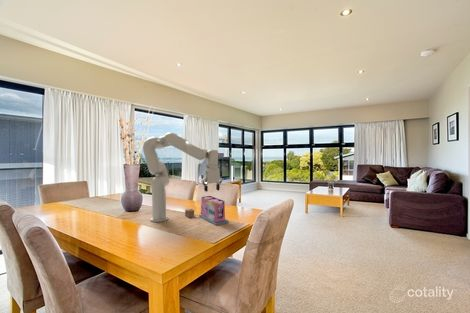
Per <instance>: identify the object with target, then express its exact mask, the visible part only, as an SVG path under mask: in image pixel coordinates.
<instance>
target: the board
mask: <svg viewBox="0 0 470 313" xmlns="http://www.w3.org/2000/svg"><path fill="white" fill-rule="evenodd" d="M198 217H199V218H201V219H203V220H204V221H206V222H208V223H210V224H212V225H214V226H220V225H224V224H228V223H229V220H228V219H226V218H225V221H220V222H214V221H212V220H210V219H209V218H207V217H205V216H203V215H202V214H199V216H198Z"/></svg>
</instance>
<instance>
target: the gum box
mask: <svg viewBox="0 0 470 313" xmlns="http://www.w3.org/2000/svg"><path fill="white" fill-rule="evenodd" d="M200 203H202V214H201V215H203V216H205V217H207V218H209V219H210V220H212V221H214V222H220V221H225V219H226V210H225V208H226V204H225V203H226V202H225V200H223V199H220V198H217V197H214V196H212V195H207V196H206V195H205V196H201V202H200Z"/></svg>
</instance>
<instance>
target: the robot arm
mask: <svg viewBox="0 0 470 313" xmlns="http://www.w3.org/2000/svg"><path fill="white" fill-rule="evenodd" d="M171 146H172V147H174V148H176V149H178V150H179V151H180V152H183V153H184V154H187V155H188V156H189V157H192V158H194V159H196V160H198V161H202V160H207V161H206V162H207V164H206V165H205V168H206V170H205V175H204V177H203V178H202V179H200V181H201V184H202V185H203V187H204V188H203V189H204V192H208V191H209V190H208V189H209V188H208V187H209V186H208V185H209V184H216V185H215V186H216V188H215V189H216V191H220V188H221V186H220V185H221V184H222V182H223V179H224V178H222V177H221V176H220V169H219V150H217V149H202V148H200V147H197V146H195V145H194V144H192V143H191V142H190V141H189V140H187V139H185V138H183V137H181V136H179V135H178V134H177V133H174V132H171V131H170V132H167V133H165V135H162V136H159V137H158V136H151V137H148V138H147V139H146V140H145V141H144V143H143V146H142V152H143V154H144V158H145V161H146V167H147V168H148V172H149V173H150V174H151V175H152V176H154V177H153V178H152V179H151V181H150V189H151V204H152V208H151V210H152V213H151V214H152V217H150V222H153V223H160V222H161V223H162V222H165V221H167V220H169V216H168V215H167V193H166V187H167V186H169V184H170V176H169V173H168V169H167V167H166V165H165V163H164V162H163V161H160V160H159V156H158V153H157V151H156V149H158V150H160V149H161V150H162V149H163V148H164V149H165V148H167V147H171Z"/></svg>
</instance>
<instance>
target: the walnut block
mask: <svg viewBox="0 0 470 313" xmlns="http://www.w3.org/2000/svg"><path fill="white" fill-rule="evenodd" d="M184 212H185V214H184V216H185V217H186V218H188V219H189V218H190V219H191V218H194V217H195V209H193V208H189V209H188V208H187V209H185V210H184Z"/></svg>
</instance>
